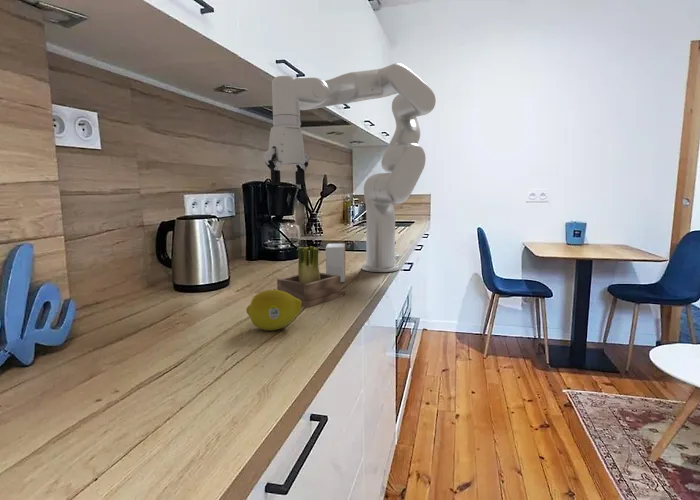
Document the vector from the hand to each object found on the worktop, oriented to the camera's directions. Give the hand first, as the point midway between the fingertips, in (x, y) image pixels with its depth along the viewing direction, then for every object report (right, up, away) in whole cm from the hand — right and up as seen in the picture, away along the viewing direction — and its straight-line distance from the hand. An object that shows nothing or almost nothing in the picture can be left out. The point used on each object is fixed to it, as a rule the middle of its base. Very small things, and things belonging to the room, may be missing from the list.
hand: (288, 184), depth 123 cm
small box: (+14, -28, +5) cm, 32 cm away
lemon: (+3, -35, -37) cm, 51 cm away
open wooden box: (+7, -31, -14) cm, 34 cm away
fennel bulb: (+8, -30, -14) cm, 34 cm away
